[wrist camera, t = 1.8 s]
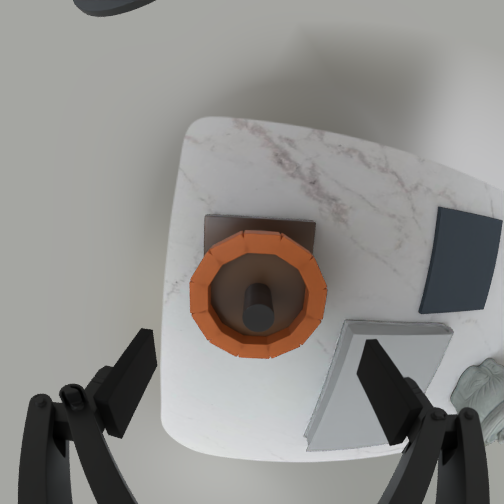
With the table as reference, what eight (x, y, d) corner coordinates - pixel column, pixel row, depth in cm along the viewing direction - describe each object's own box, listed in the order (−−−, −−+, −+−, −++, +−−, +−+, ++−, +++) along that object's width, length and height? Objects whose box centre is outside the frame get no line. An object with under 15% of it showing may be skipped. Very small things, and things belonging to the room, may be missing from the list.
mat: (438, 206, 30) (441, 207, 30) (499, 219, 30) (502, 220, 30) (418, 311, 34) (420, 314, 33) (480, 307, 34) (483, 309, 33)
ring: (193, 227, 23) (189, 230, 22) (329, 235, 23) (334, 238, 22) (195, 344, 26) (192, 353, 25) (312, 350, 26) (315, 359, 25)
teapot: (507, 359, 38) (552, 402, 19) (466, 410, 41) (502, 460, 22) (487, 334, 35) (546, 386, 17) (438, 396, 39) (482, 460, 20)
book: (306, 451, 36) (353, 334, 30) (303, 435, 40) (344, 319, 34) (398, 441, 37) (458, 334, 31) (392, 428, 40) (445, 322, 34)
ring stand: (206, 214, 31) (177, 234, 19) (313, 220, 31) (348, 244, 19) (205, 311, 34) (183, 373, 22) (302, 316, 34) (322, 379, 22)
